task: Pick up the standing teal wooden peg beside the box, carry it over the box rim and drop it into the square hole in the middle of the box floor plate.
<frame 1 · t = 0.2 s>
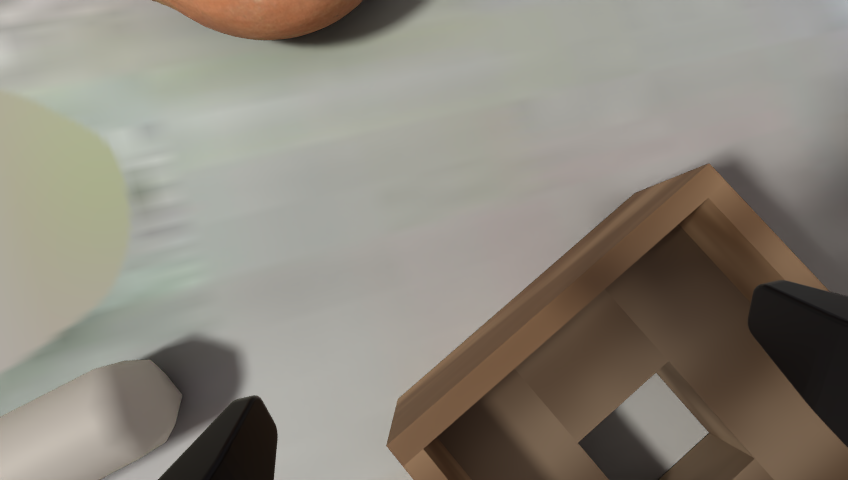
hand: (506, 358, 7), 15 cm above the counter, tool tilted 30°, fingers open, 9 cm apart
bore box: (632, 426, 21), on the counter
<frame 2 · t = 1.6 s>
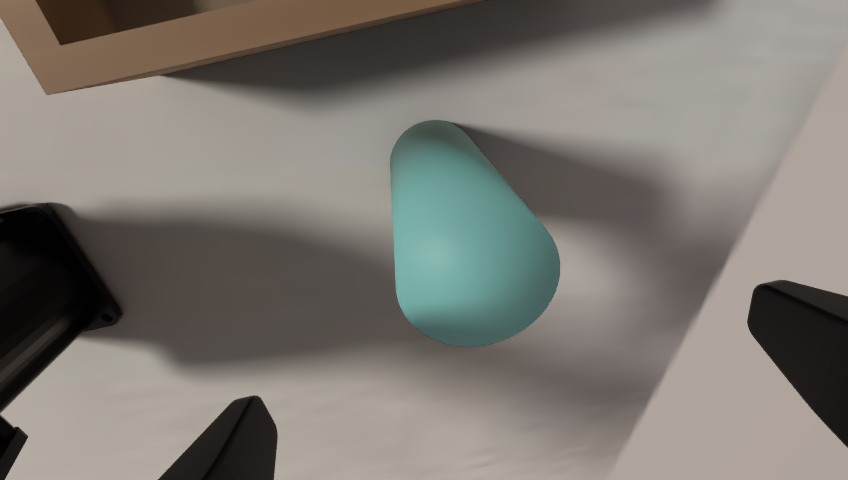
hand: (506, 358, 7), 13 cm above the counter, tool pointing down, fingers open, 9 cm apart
peg: (433, 164, 19), on the counter
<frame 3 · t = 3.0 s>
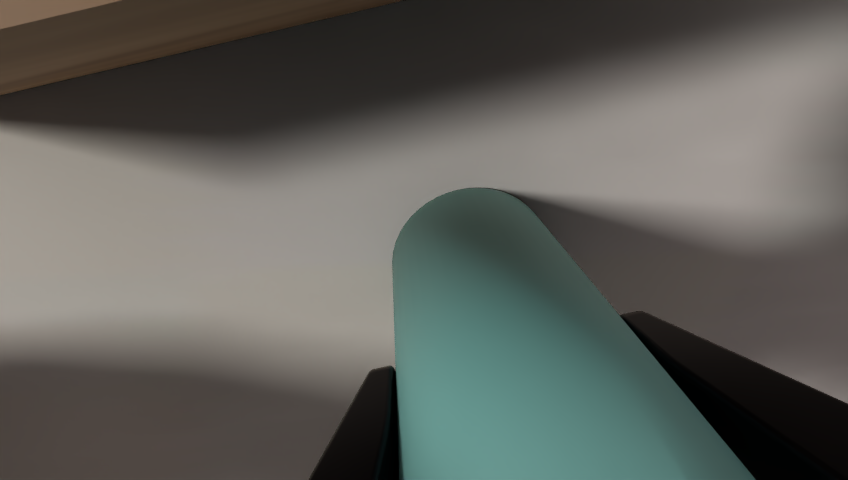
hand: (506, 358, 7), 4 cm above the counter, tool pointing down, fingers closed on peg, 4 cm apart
peg: (470, 261, 11), on the counter, touching gripper
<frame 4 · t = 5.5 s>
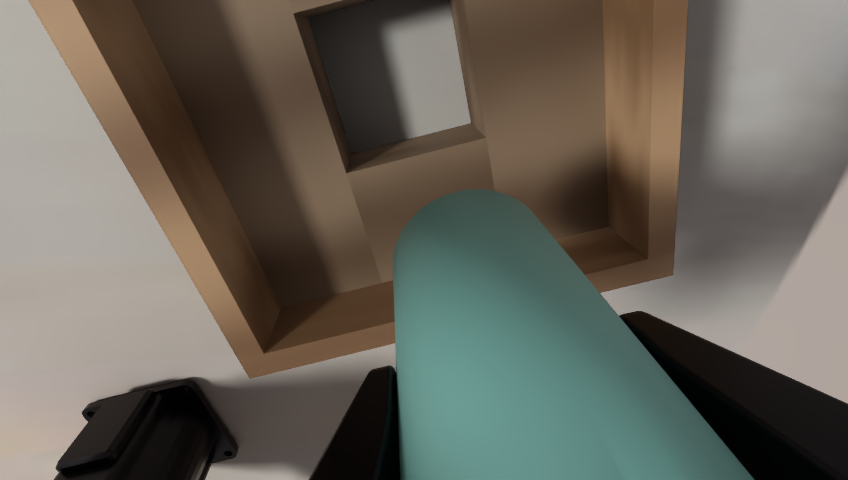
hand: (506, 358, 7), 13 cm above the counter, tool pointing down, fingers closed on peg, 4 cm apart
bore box: (395, 74, 17), on the counter
peg: (470, 262, 11), point 10 cm above the counter, touching gripper
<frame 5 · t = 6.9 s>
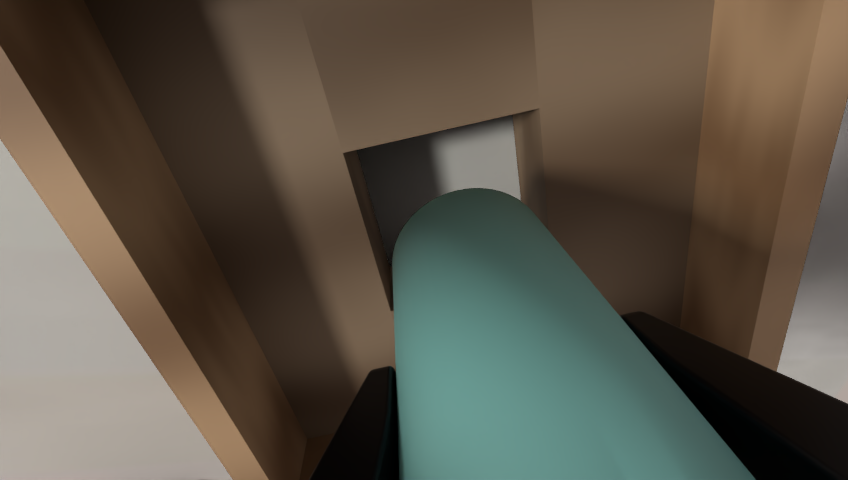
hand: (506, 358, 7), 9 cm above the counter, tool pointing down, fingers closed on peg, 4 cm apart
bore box: (444, 187, 15), on the counter
peg: (470, 262, 11), point 5 cm above the counter, touching gripper
when the fingers open (5 cm above the counter, at t = 8.1 s): peg drops 1 cm, resting in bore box.
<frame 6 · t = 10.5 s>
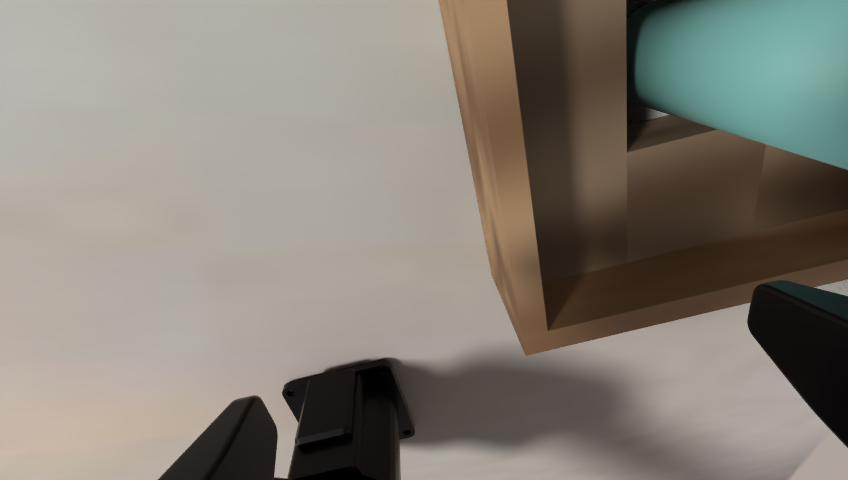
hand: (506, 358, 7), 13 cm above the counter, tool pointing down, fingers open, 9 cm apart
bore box: (655, 52, 17), on the counter
peg: (653, 54, 17), resting in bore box
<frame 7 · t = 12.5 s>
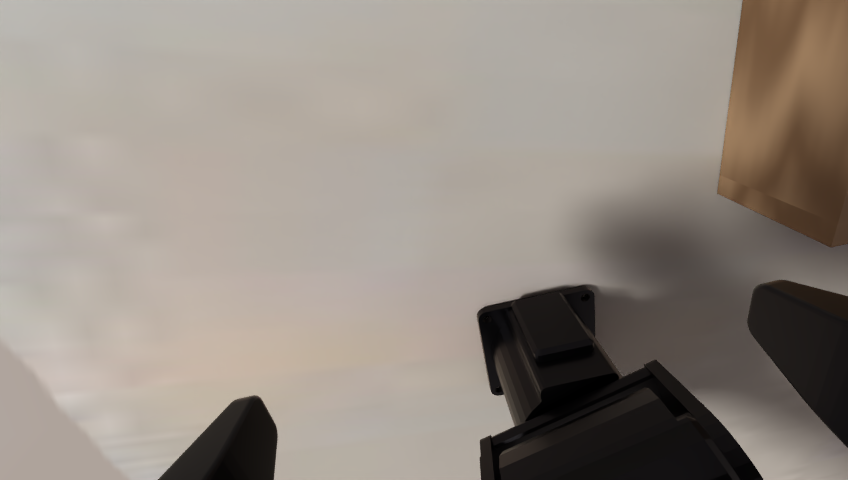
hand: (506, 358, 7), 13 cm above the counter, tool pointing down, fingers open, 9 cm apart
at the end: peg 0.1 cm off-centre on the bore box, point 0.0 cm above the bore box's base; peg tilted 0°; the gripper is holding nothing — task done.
